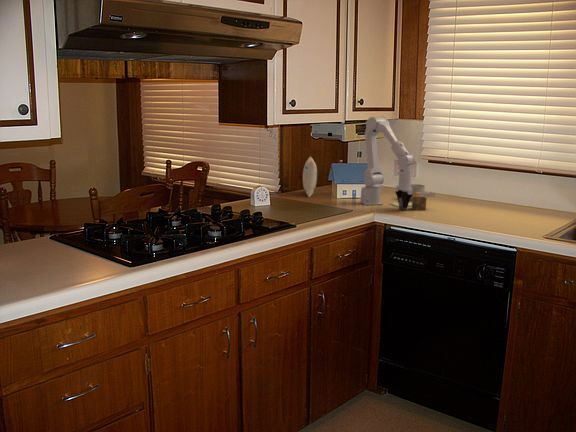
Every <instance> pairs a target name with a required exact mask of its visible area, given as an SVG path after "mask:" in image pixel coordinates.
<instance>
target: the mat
mask: <svg viewBox="0 0 576 432" xmlns="http://www.w3.org/2000/svg"><path fill="white" fill-rule="evenodd" d="M390 205H392V206H393V207H396V208H399V203H398V202H390ZM409 207H412V203H411V202H409V204H408V207H407V208H409Z"/></svg>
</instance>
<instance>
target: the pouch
mask: <svg viewBox="0 0 576 432" xmlns="http://www.w3.org/2000/svg"><path fill="white" fill-rule="evenodd" d="M317 166H318V165H317V164H316V162H315V161H314V159H313V157H312V156H311V155H310V156H309V157H308V159H307V160H306V161H305V164H304V165H303V170H302V186H303V190H304V192H305V193H306V196H307V197H308V198H310V197H312V195H313V194H314V191H315V189H316V187H317V183H318V182H317V181H318V167H317Z"/></svg>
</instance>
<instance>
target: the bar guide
mask: <svg viewBox="0 0 576 432" xmlns="http://www.w3.org/2000/svg"><path fill="white" fill-rule="evenodd" d="M427 199H428V197H414V196H413V198H412V201H411V202H412V203H411V204H412V206H411V209H412V210H415V211H426V210H427V209H426V208H427Z"/></svg>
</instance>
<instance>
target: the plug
mask: <svg viewBox="0 0 576 432" xmlns="http://www.w3.org/2000/svg"><path fill="white" fill-rule="evenodd" d="M398 210H399V211H402V212H404V211H408V207H407V208H403V203H402V197H400V198H399V207H398Z"/></svg>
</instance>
